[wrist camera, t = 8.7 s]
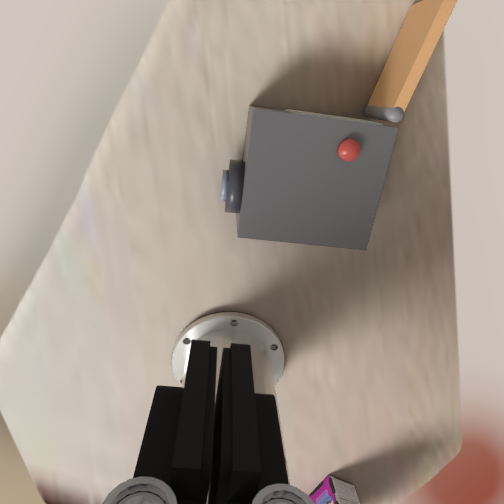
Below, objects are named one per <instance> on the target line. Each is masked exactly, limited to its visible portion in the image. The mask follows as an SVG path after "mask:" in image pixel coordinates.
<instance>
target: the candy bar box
mask: <svg viewBox="0 0 504 504" xmlns="http://www.w3.org/2000/svg"><path fill="white" fill-rule="evenodd" d="M309 498H310V499H311V500H312V501H313V502H314V503H315V504H361V503H360V500H359V497H358V494H357V491H356V488H355V486H354V485H353V484H351V483H349V482H346V481H343V480H340V479H338V478H336V477H333V476H330V475H328V476H327V477H326V478H325V479H324V480H323V481H322V482H321V484H320V485H319V486H318V487H317V488H316V489H315V490H314V491H313V492H312V493H311V494H310V496H309Z"/></svg>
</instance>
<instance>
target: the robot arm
mask: <svg viewBox="0 0 504 504" xmlns="http://www.w3.org/2000/svg"><path fill="white" fill-rule="evenodd" d="M171 365H172V371H173V374H174V377H175V379H176V381H177V383H178V384H179V385H180V387H170V386H157V387H156V390H155V394H154V398H153V402H152V406H151V410H150V414H149V417H148V421H147V425H146V429H145V433H144V437H143V441H142V445H141V449H140V453H139V457H138V461H137V465H136V468H135V472H134V476H133V478H132V479H129V480H127V481H125V482H123V483H121V484H119V485H118V486H117V487H116V488H115V489H113V490H112V491H111V492H110V493H109V494H108V496H107V497H106V499H105V500H104V502H103V504H315V503H314V502H313V501H312V500H311V499H310V498H309V496H308V495H307V494H306V493H304V492H303V491H301V490H300V489H298V488H296V487H294V486H291V485H290V480H289V474H288V467H287V461H286V455H285V448H284V442H283V435H282V429H281V423H280V416H279V410H278V403H277V397H276V390H275V385H276V384H277V382H278V380H279V379H280V377H281V375H282V372H283V369H284V353H283V348H282V345H281V341H280V340H279V338H278V336H277V334H276V333H275V332H274V331H273V330H272V328H271V327H270V326H268V325H267V324H266V323H264V322H263V321H261V320H259V319H257V318H255V317H253V316H250V315H247V314H244V313H237V312H220V313H215V314H210V315H207V316H205V317H202V318H200V319H198V320H196V321H195V322H193V323H192V324H190V325H189V326H188V327H187V328H186V329H185V330H184V331H183V332H182V333H181V335H180V336H179V337H178V339H177V341H176V343H175V346H174V349H173V353H172V363H171Z"/></svg>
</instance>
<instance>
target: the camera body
mask: <svg viewBox="0 0 504 504" xmlns="http://www.w3.org/2000/svg"><path fill="white" fill-rule="evenodd" d="M397 132H398V128H396V127H392V126H387V125H383V123H378V122H374V121H369V120H364V119H357V118H349V117H342V116H335V115H327V114H320V113H313V112H305V111H298V110H291V109H285V110H279V109H272V108H265V107H257V106H250V105H249V112H248V120H247V129H246V137H245V146H244V154H243V161H238V160H230V164H229V170H223V177H222V187H221V198H220V201H226V204H225V212H232V213H237V214H236V218H237V235H238V237H240V238H250V239H260V240H269V241H279V242H289V243H299V244H309V245H319V246H329V247H339V248H349V249H359V250H366V248H367V245H368V241H369V237H370V233H371V230H372V226H373V222H374V218H375V214H376V211H377V207H378V203H379V199H380V196H381V192H382V188H383V184H384V181H385V177H386V173H387V169H388V166H389V162H390V158H391V154H392V151H393V147H394V143H395V139H396V135H397Z"/></svg>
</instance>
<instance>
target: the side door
mask: <svg viewBox="0 0 504 504" xmlns="http://www.w3.org/2000/svg"><path fill="white" fill-rule="evenodd" d="M456 2H457V0H422V1H420V2H418V3H416V4H414V5H412V6H411V7H410V9H409V11H408V14H407V16H406V18H405V20H404V23H403V25H402V27H401V30H400V32H399V34H398V36H397V39H396V41H395V43H394V45H393V48H392V50H391V52H390V55H389V57H388V59H387V61H386V64H385V66H384V68H383V71H382V73H381V75H380V77H379V80H378V82H377V84H376V87H375V89H374V91H373V93H372V96H371V98H370V100H369V103H368V105H367V106H366V107H365V109H364V114H365V116H366V117H369V118H374V119H379V120H385V121H390V122H399V121H401V120H402V118H403V116H404V112H405V109H406V107H407V105H408V103H409V101H410V99H411V97H412V95H413V93H414V90H415V88H416V86H417V84H418V82H419V80H420V78H421V76H422V74H423V72H424V69H425V67H426V65H427V63H428V61H429V59H430V57H431V55H432V53H433V50H434V48H435V46H436V44H437V42H438V40H439V38H440V36H441V34H442V32H443V29H444V27H445V25H446V23H447V21H448V19H449V17H450V15H451V13H452V10H453V8H454V6H455V4H456Z"/></svg>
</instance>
